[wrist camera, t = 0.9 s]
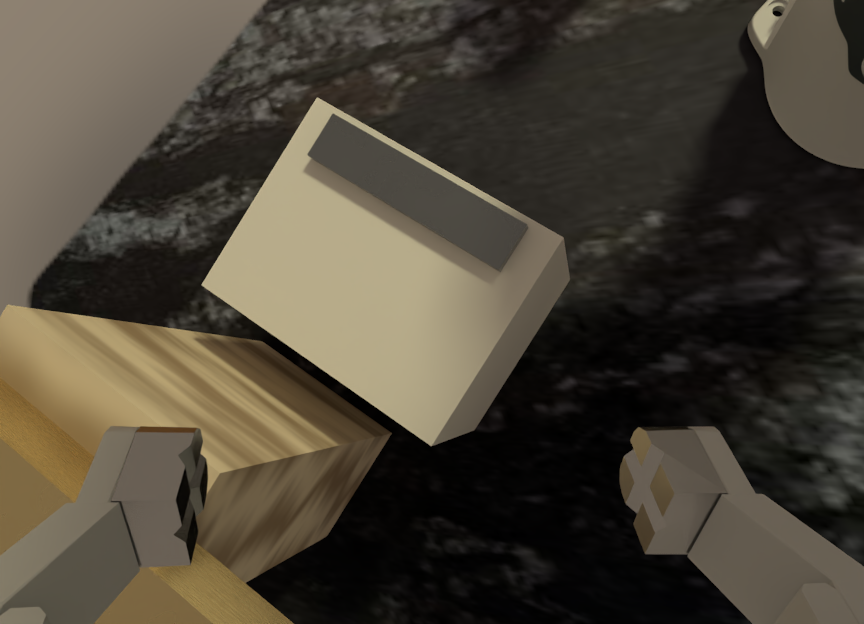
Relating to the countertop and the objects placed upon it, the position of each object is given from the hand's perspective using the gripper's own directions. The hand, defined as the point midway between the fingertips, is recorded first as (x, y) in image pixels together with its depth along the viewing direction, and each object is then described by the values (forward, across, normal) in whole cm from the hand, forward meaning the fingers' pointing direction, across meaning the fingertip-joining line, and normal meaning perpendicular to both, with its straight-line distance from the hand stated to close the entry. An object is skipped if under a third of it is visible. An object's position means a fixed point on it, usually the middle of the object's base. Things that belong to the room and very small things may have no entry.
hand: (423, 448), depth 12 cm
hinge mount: (+35, -5, +22) cm, 42 cm away
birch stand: (+30, +6, +33) cm, 45 cm away
